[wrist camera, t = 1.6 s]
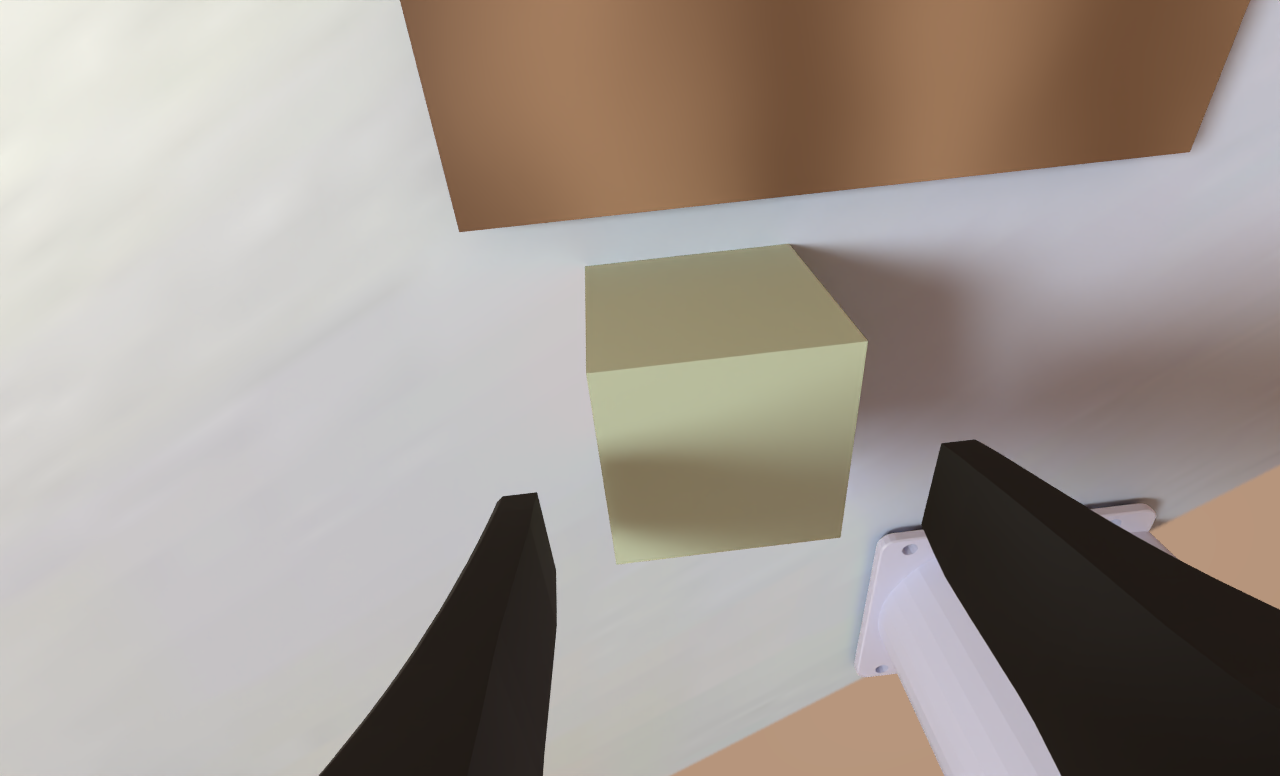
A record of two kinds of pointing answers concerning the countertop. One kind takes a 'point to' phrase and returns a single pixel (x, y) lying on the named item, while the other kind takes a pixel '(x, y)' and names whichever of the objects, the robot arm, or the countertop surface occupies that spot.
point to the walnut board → (795, 95)
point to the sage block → (720, 401)
